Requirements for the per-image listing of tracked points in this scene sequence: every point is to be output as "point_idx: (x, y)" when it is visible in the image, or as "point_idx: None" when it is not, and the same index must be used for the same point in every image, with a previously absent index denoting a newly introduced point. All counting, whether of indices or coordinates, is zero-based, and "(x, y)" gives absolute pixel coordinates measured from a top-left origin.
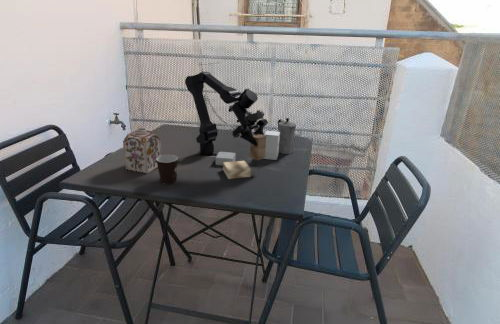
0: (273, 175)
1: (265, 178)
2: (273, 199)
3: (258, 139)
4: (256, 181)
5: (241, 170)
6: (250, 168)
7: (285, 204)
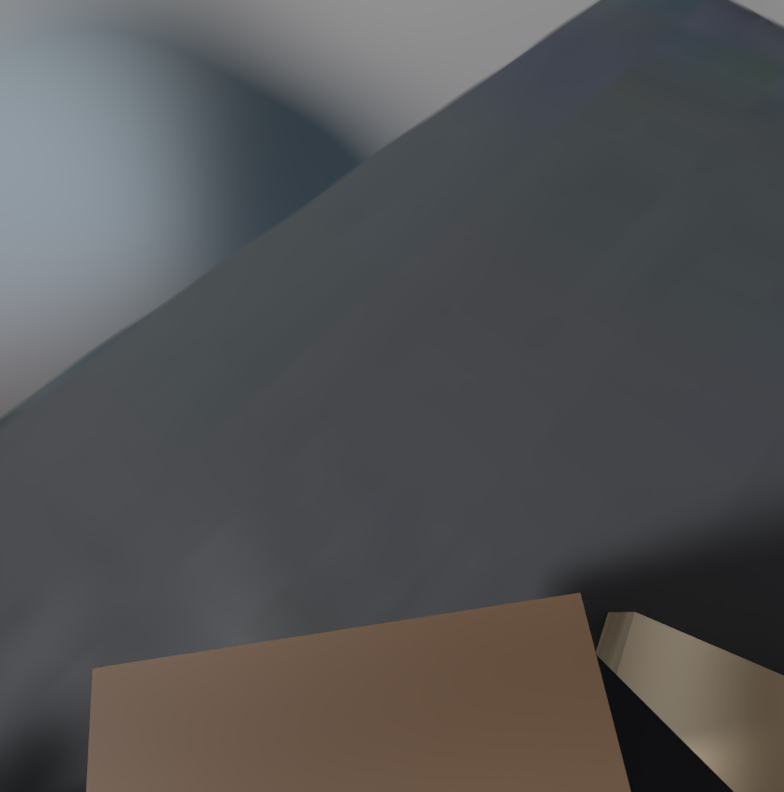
0: (366, 478)
1: (490, 471)
2: (699, 141)
3: (575, 620)
4: (624, 470)
5: (782, 677)
6: (630, 632)
7: (662, 59)
